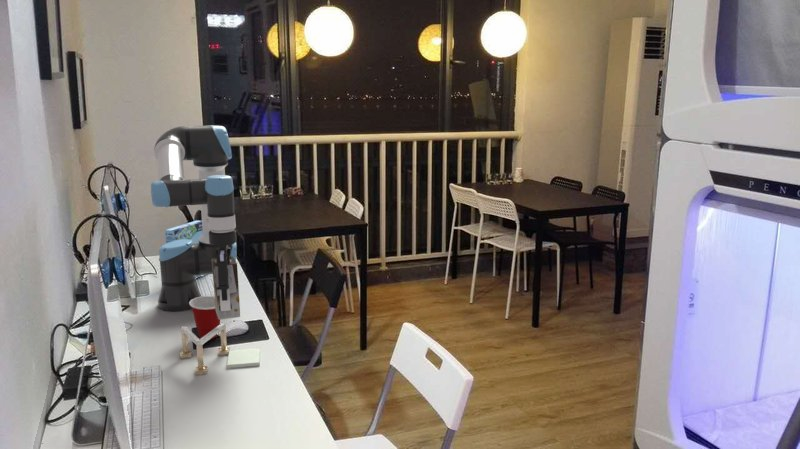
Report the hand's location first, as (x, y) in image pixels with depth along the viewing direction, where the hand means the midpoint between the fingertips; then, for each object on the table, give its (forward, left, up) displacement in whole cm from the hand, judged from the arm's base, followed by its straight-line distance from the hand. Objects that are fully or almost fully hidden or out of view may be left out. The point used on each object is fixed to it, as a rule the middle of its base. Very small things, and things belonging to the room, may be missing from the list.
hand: (227, 304), depth 186 cm
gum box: (-79, -20, -16) cm, 83 cm away
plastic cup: (-16, -7, -16) cm, 24 cm away
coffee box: (0, 0, -3) cm, 3 cm away
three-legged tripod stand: (+3, -7, -16) cm, 18 cm away
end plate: (+4, +4, -16) cm, 17 cm away
